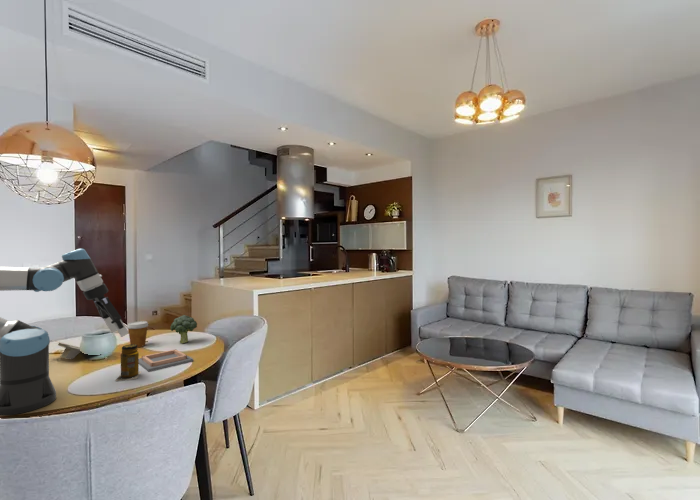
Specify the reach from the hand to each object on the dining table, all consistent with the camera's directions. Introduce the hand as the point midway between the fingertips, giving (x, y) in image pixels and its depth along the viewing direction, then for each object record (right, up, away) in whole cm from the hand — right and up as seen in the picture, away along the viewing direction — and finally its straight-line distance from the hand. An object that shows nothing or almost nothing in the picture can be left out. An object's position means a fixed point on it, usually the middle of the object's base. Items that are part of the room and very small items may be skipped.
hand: (120, 333), depth 140 cm
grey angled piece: (-34, -16, +21) cm, 43 cm away
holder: (+10, -16, +14) cm, 24 cm away
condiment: (+6, -16, -4) cm, 18 cm away
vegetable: (+5, -16, +44) cm, 47 cm away
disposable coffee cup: (-16, -16, +38) cm, 45 cm away
